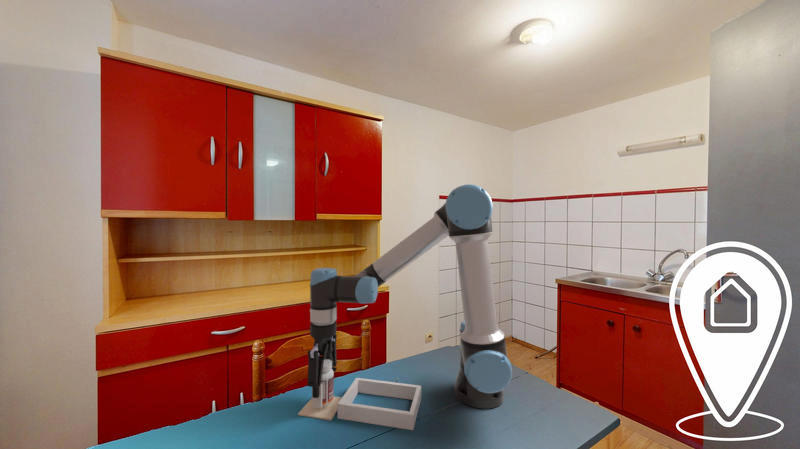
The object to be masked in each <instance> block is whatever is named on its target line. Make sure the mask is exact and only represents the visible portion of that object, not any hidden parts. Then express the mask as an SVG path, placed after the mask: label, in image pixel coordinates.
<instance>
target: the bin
mask: <svg viewBox="0 0 800 449" xmlns="http://www.w3.org/2000/svg"><path fill="white" fill-rule="evenodd" d="M359 393H361V394H367V395H375V396H379V397H380V396H382V397H389V398H396V399H403V400H404V399H405V400H412V402H411V406H410V409H409V411H408V410H402V409H395V408H387V407H382V406H381V407H380V406H374V405H368V404H367V405H366V404H361V403H360V404H359V403H353V402H354V400H355V398H357V396H358V394H359ZM341 398H342V399H341V400H340V401H339V403H338V411H337V419H338V420H339V419H340V420H345V421H353V422H359V423H365V424H371V425H377V426H383V427H388V428H389V427H390V428H396V429H402V430H407V431H409V430H410V431H414V428H415V425H416V421H417V417H418V414H419V413H418V412H419V408H420V404H421V400H422V385H418V384H410V383H401V382H394V381H385V380H377V379H370V378H364V377H363V378H361V377H356V378H355V379H354V380H353V382H352V383H351V385H350V386H349V387H348V389H347V390H346V391H345V393H344V394H343V396H342V397H341Z"/></svg>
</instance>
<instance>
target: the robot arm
mask: <svg viewBox="0 0 800 449" xmlns="http://www.w3.org/2000/svg"><path fill="white" fill-rule="evenodd" d="M493 205H494V204H493V201H492V198H491V195H490V194H489V193H488V192H487V191H486V190H485V189H484V188H483V187H481V186H479V185H476V184H463V185H460V186H457V187H456V188H454V189H452V191H450V193H449V194H448V196H447V197H446V200H445V203H444V204H443V205H442V206H441V207H440V208H438V209H437V210H436V211H435V212H434V214H433V217H432V218H431V219H429V220H428V221H426V222H425V223H424V224H422V225H421V226H420V227H419V228H417V229H416V230H415V231H413V232H412V233H411V234H409V235H408V236H406V237H404V239H403V240H402V241H400V242H399V243H397V244H395V246H393V247H392V248H391V249H390V250H388V251H387V252H385V253H384V254H383V255H381V256H379V258H377V259H376V260H375V261H374V262H372V263H371V264H370V265H368V266H367V267H366V268H364V269H363V270H361V271H360V272H359V273H357V274H355V275H353V276H352V275H338V272H337V271H338V270H337V269H336V268H332V267H319V268H315V269H313V270H311V272H310V281H309V282H310V284H309V288H310V289H309V290H310V291H309V292H310V293H309V294H310V296H309V297H310V299H309V300H310V301H309V302H310V305H309V307H310V308H309V313H310V314H309V315H310V316H309V317H310V319H309V321H310V324H309V335H310V337H311V338H313V341H314V342H313V348H312V349H309V350H308V351H307V356H308V366H307V368H308V369H307V387H310V388H311V398H312V407H314V408H322V384H321V378H322V371H323V364H324V359H329V360H331V361H332V370H333V372H336V371H337V367H336V366H337V364H338V360H337V319H338V316H337V315H338V314H337V311H338V310H337V309H338V307H337V304H338V303H350V304H362V305H363V304H374V303H376V300H377V297H378V292H379V287H381V286H382V285H384V284H385V283H386V282H387V281H389V280H390V279H391V278H393V277H395V275H397V274H398V273H400V272H401V271H402V270H404V269H405V268H406V267H408V266H409V265H410V264H412V263H413V262H414V261H415V262H416V260H417V259H418V258H420V257H421V256H423V255H424V254H426V253H427V252H429V251H430V250H431V249H432V248H434V247H435V246H436V245H438V244H439V243H441V242H442V241H443V240H444V239H446V238H447V237H449V239H450V240H452V241H454V243H455V250H456V258H457V267H458V276H459V285H460V286H459V287H460V294H461V301H462V302H461V303H462V311H463V319H464V320H463V321H462V322H461V323H460V327H459V328H460V329H459V332H460V333H459V335H460V336H459V339H460V341H459V342H460V344H459V363H460V364H459V369H458V373H457V375H456V378H455V381H454V383H453V384H454V385H453V388H454V395H455V397H456V399H458V401H460V402H462V403H463V404H464V405H466V406H469V407H471V408H475V409H476V408H477V409H482V410H483V409H486V410H487V409H493V408H494V409H495V408H498V407H499V406H501V405H502V404H503V402H504V401H505V400H504V399H505V398H504V397H505V392H504V390H505V388H506V387H508V386H509V384H510V383H511V381H512V378H513V377H512V376H513V367H512V364H511V361H510V359H509V358H508V351H507V344H506V336H505V332H504V331H502V330H501V329H500V328H499V325H498V318H497V309H496V302H495V300H496V298H495V293H494V292H495V290H494V283H493V276H492V275H493V274H492V267H491V259H490V258H491V257H490V248H489V241H488V240H489V238H490V237H491V235H493V233H494V232H493V224H492V214H493V209H494V206H493Z"/></svg>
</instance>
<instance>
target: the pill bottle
mask: <svg viewBox="0 0 800 449" xmlns="http://www.w3.org/2000/svg"><path fill="white" fill-rule="evenodd" d="M334 373H335V371H333V370H332V361H331V360H329V359H324V364H323V371H322V378H321V384H322V406H326V405H329V404H330V403H331V402H332V401H333V398H334V397H335V395H334V391H335V390H334V389H335V387H334V385H335V380H334V377H335V374H334Z"/></svg>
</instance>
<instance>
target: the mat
mask: <svg viewBox="0 0 800 449" xmlns="http://www.w3.org/2000/svg"><path fill="white" fill-rule="evenodd" d="M341 399H342V397H340V396H334V398H333V401H332V402H331V403H330V404H329V405H326V406H322V408H314V407H312V397H311V399H309V401H308V402H307V403H306V404H305V405H304V406H303V407H302V408H301V410H300V411H299V412H298V413H297V415H298V416H301V417H307V418H308V417H309V418H313V419H314V418H315V419H319V420H326V421H332V420H333V418H334V417H335V415H336V413H338V403H339V401H340V400H341Z"/></svg>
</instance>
